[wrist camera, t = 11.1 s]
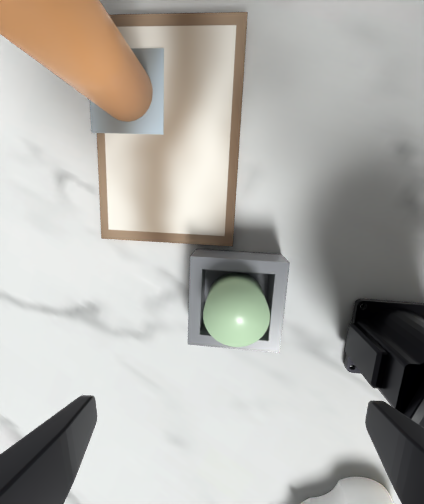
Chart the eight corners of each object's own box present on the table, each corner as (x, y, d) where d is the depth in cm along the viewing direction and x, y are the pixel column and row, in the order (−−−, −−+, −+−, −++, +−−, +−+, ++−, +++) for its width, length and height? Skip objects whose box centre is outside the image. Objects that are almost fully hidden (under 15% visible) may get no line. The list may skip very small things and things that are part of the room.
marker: (142, 51, 17) (-260, -627, 3) (161, 110, 17) (-103, -234, 4) (91, 73, 17) (-438, -419, 4) (111, 130, 18) (-276, -108, 4)
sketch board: (246, 18, 17) (247, 9, 16) (232, 245, 20) (232, 246, 19) (92, 21, 17) (85, 12, 17) (102, 237, 21) (96, 238, 20)
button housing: (281, 254, 19) (289, 262, 17) (273, 332, 21) (279, 352, 18) (196, 248, 20) (190, 256, 17) (194, 325, 21) (187, 344, 18)
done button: (266, 274, 18) (272, 287, 15) (261, 327, 19) (266, 349, 16) (209, 270, 18) (204, 282, 15) (206, 322, 19) (201, 343, 16)
